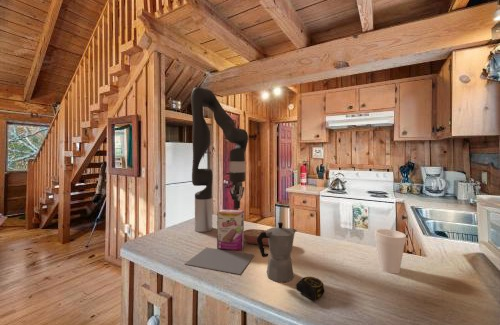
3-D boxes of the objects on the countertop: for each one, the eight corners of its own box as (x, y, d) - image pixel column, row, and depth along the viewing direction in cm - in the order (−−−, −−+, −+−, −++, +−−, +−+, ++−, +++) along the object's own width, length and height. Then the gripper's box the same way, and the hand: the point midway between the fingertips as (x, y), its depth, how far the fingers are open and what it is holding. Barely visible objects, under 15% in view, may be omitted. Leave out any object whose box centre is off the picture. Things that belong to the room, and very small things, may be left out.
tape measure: (294, 292, 67) (294, 280, 67) (310, 285, 71) (310, 273, 71) (313, 305, 62) (313, 291, 62) (329, 296, 66) (329, 283, 66)
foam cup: (394, 278, 75) (395, 239, 75) (368, 266, 83) (369, 231, 83) (410, 271, 80) (411, 235, 79) (384, 260, 88) (385, 227, 87)
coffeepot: (287, 265, 84) (288, 216, 83) (304, 277, 75) (305, 223, 75) (250, 274, 77) (250, 222, 77) (264, 289, 69) (264, 230, 68)
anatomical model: (239, 244, 103) (239, 234, 103) (248, 237, 113) (248, 227, 112) (289, 253, 95) (289, 241, 94) (294, 245, 104) (294, 234, 104)
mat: (206, 248, 99) (206, 247, 99) (254, 255, 92) (254, 254, 92) (184, 264, 84) (184, 263, 84) (240, 274, 77) (240, 274, 77)
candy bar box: (216, 249, 97) (216, 211, 97) (219, 245, 102) (219, 209, 102) (242, 251, 96) (242, 212, 96) (244, 246, 101) (244, 209, 101)
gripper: (235, 170, 113) (235, 205, 114) (223, 171, 101) (223, 210, 101) (249, 170, 111) (249, 206, 111) (239, 172, 98) (239, 212, 99)
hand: (237, 208), depth 106 cm, fingers closed
